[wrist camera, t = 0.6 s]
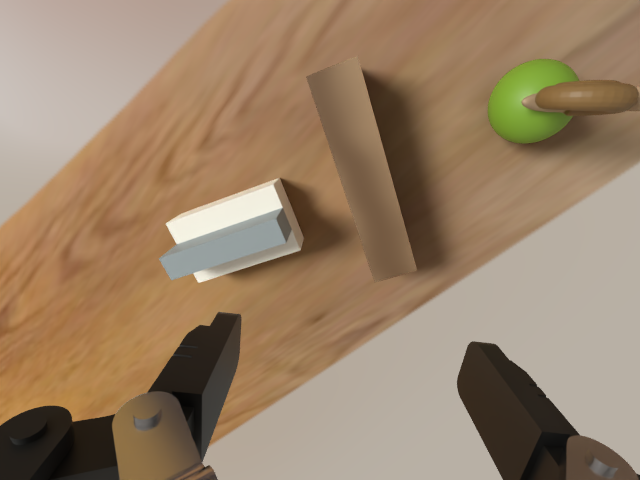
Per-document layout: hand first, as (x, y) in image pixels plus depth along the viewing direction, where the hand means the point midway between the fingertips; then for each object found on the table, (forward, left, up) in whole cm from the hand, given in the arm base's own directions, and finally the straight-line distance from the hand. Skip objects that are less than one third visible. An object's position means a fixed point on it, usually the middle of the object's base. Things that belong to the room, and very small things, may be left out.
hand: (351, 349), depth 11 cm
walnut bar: (-3, -2, -19) cm, 19 cm away
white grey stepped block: (+9, -1, -19) cm, 21 cm away
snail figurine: (-16, -3, -19) cm, 25 cm away
